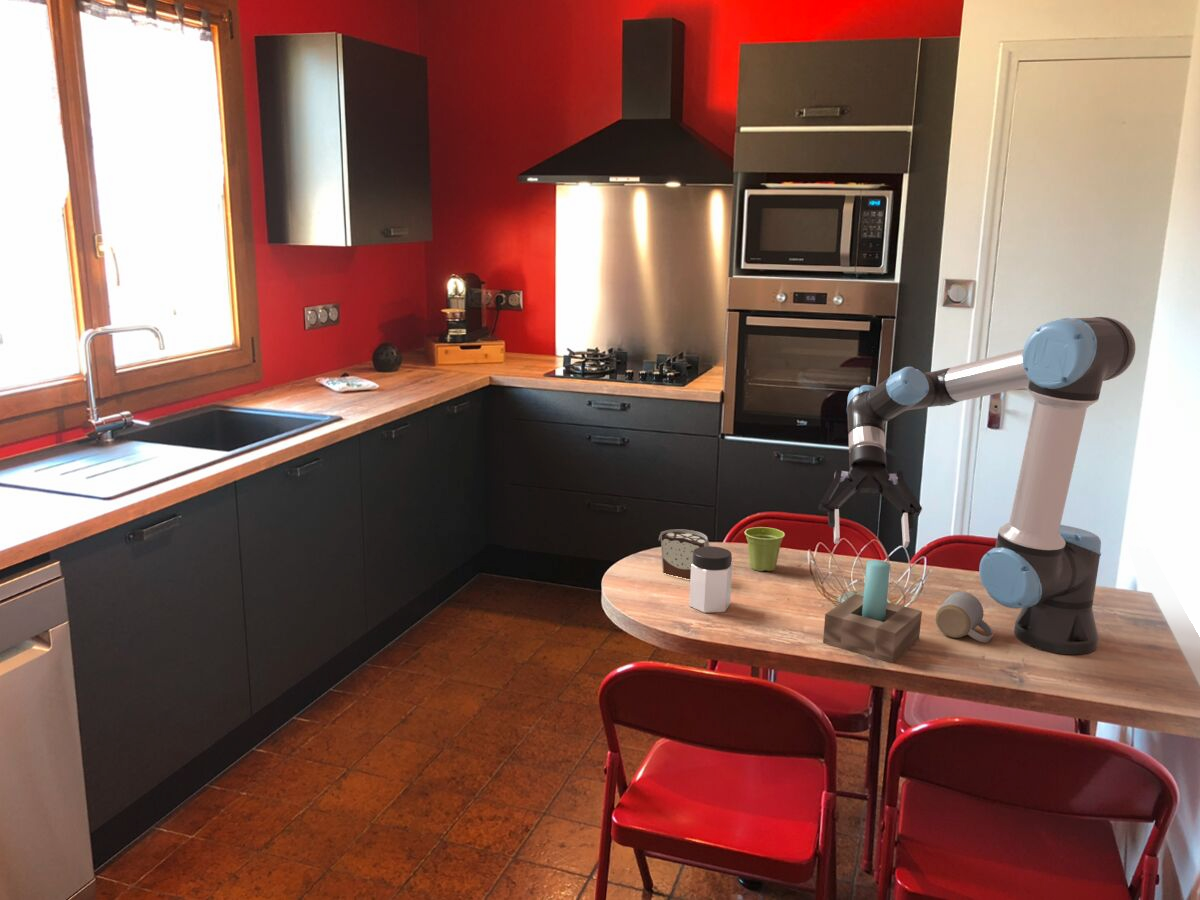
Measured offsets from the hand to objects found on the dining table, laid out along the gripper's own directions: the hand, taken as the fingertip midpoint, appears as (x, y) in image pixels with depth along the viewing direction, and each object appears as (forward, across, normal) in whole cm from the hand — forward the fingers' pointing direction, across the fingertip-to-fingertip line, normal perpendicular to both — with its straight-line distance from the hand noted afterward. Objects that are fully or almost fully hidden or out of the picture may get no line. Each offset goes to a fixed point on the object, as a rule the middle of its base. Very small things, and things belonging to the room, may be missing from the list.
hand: (871, 542), depth 198 cm
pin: (+17, 0, -6) cm, 18 cm away
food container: (-4, +37, -29) cm, 47 cm away
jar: (+9, +32, -16) cm, 37 cm away
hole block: (+18, 0, -7) cm, 19 cm away
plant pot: (-10, +19, -35) cm, 41 cm away
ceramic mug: (+13, -20, -12) cm, 27 cm away
